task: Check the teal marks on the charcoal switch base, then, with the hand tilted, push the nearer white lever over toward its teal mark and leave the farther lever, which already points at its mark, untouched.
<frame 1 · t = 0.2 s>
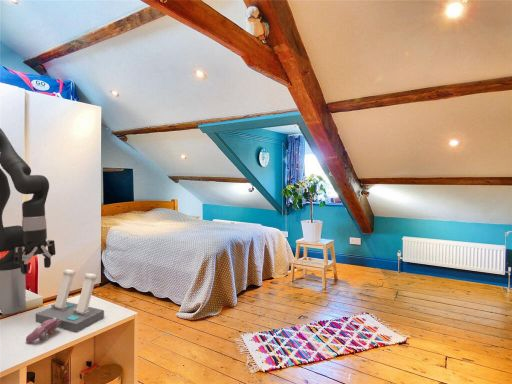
hand: (36, 270, 121), 18 cm above the shelf, tool pointing down, fingers open, 8 cm apart
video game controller: (44, 337, 107), on the shelf
switch base: (70, 319, 119), on the shelf
lever 2: (86, 293, 119), point 10 cm above the shelf, hinge at -20.0°
lever 1: (64, 288, 123), point 10 cm above the shelf, hinge at -20.0°
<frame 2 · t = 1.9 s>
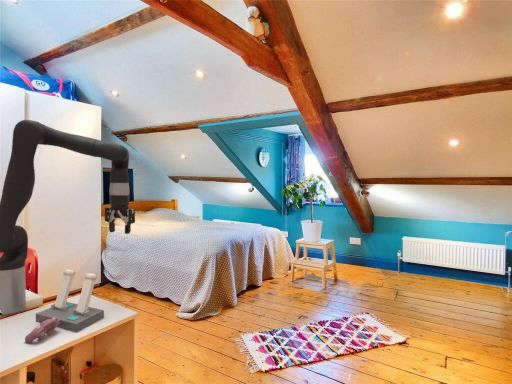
hand: (119, 232, 133), 30 cm above the shelf, tool pointing down, fingers open, 7 cm apart
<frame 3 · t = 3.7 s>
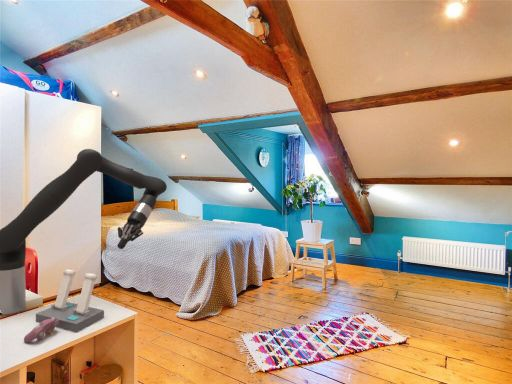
hand: (119, 247, 133), 24 cm above the shelf, tool tilted 45°, fingers closed
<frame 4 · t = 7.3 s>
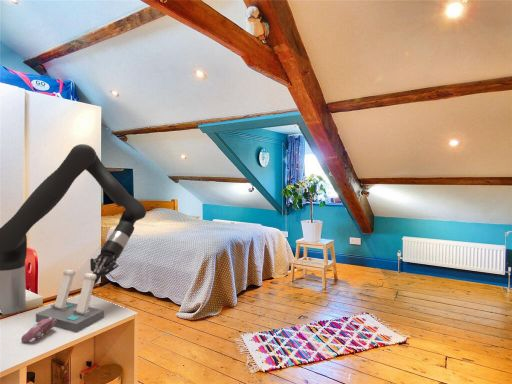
hand: (91, 283, 121), 13 cm above the shelf, tool tilted 45°, fingers closed
lever 2: (86, 293, 119), point 10 cm above the shelf, hinge at -18.9°, touching gripper
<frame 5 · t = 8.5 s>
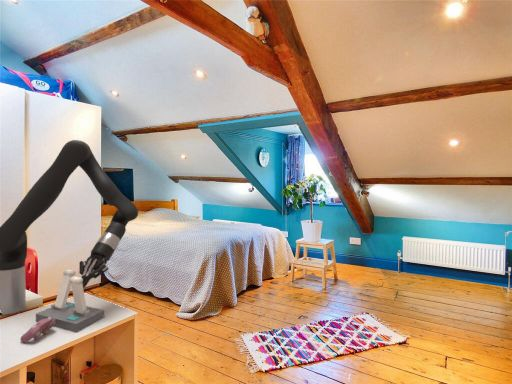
hand: (80, 287, 116), 13 cm above the shelf, tool tilted 45°, fingers closed
lever 2: (78, 295, 116), point 11 cm above the shelf, hinge at 9.3°, touching gripper
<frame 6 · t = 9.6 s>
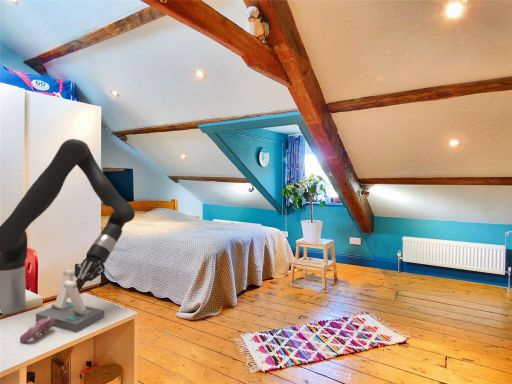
hand: (75, 290, 114), 13 cm above the shelf, tool tilted 45°, fingers closed
lever 2: (75, 297, 114), point 10 cm above the shelf, hinge at 21.4°, touching gripper
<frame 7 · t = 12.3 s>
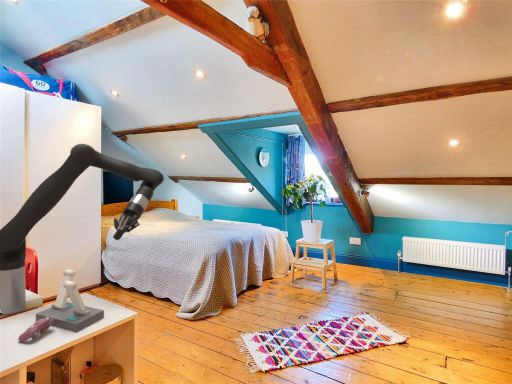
hand: (115, 239, 131), 28 cm above the shelf, tool tilted 45°, fingers closed
lever 2: (75, 297, 114), point 10 cm above the shelf, hinge at 21.5°
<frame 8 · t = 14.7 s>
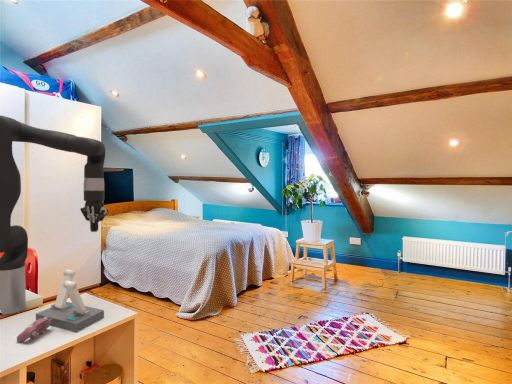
hand: (94, 231, 130), 31 cm above the shelf, tool pointing down, fingers closed
at the end: lever 2 at +22° (first picture: -20°); lever 1 at -20° (first picture: -20°) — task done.
